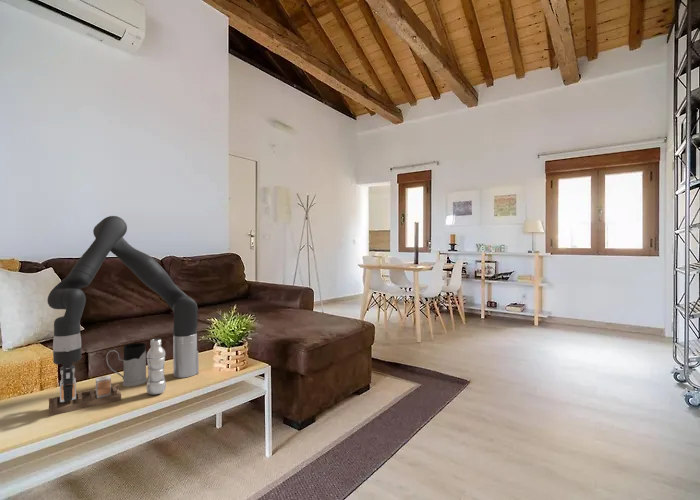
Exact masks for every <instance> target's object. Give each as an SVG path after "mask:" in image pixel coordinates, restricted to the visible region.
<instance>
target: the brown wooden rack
mask: <svg viewBox="0 0 700 500" xmlns="http://www.w3.org/2000/svg"><path fill="white" fill-rule="evenodd" d="M118 401H122V392H121V391H120V384H114V385H112V378H111V374H110V375H109V374H108V375H105V376H104V375H103V376H99V377H95V388H94V389H90V390H89V389H88V390H85V391H81V392H76V399H74V400H69V401H64V402H60V395H59V396H56V397H50V398H48V410H47V411H48V417H51V416H56V415H60V414H64V413H68V412H74V411H78V410H81V409H87V408H90V407H96V406H99V405H105V404H109V403H113V402H118Z"/></svg>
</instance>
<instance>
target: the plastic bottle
mask: <svg viewBox="0 0 700 500" xmlns="http://www.w3.org/2000/svg"><path fill="white" fill-rule="evenodd" d="M149 344H150V345H149V346H150V348H149V349H148V351H146V364H147V369H148V371H147V373H148V375H147V382H146V392H147V394H148V395H151V396H154V395H160V394H162V393H164V392H165V391H166V387H167V383H166V377H165V361H166V350H165V348H163V346H162V338H153V339H150V343H149Z"/></svg>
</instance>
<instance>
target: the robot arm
mask: <svg viewBox="0 0 700 500" xmlns="http://www.w3.org/2000/svg"><path fill="white" fill-rule="evenodd" d="M127 230H128V225H127V223H126V221H125V220H124V219H123V218H121V217H119V216H117V215H110V216H107V217H104V218H102V220H101V221H99V222H98V223H97V224H96V225H95V226H94V228H93V236H94V240H93V242H92V243H91V244H90V245H89V246H88V248H87V249H86V251H85V252H84V253H83V254H82V255H81V256H80V258H79V259H78V261H77V262H76V263H75V264H74V266H73V267H72V269H71V270H70V272H69V273H68V275H67V276H66V277H65V278H63V279H62V280H60V281H59V282H58V283H57V285H55V286H54V287H53V288H52V289H51V290H50V292H49V294H48V296H47V304H48V306H49V307H50V308H51V309H53V310H65V312H64V314H63V316H62V315H61V316H59V317H56V318H55V320H54V322H53V340H52V341H53V343H52V363H53V364H54V365H62V366H61V367H59V369H60V370H59V371H60V373H59V374H60V375H61V376H60V377H61V380H60V381H61V382H62V383H63V390H64V401H69V400H72V389H73V381H74V378H75V372H76V365H75V364H73V363H77V362H80V361H81V359H82V336H81V320H82V319H81V318H82V317H83V312H84V311H85V310H84V309H85V306H86V303H87V297H86V294H85V292H84V291H83V290H82V289H83V288H87V287H88V286H89V285H90V284H91V283H92V281H93V279H94V278H95V276H96V275H97V273H98V272H99V269H100V268H101V266H102V265H103V263H104V261H105V259H106V258H107V256H108V255H109V253H110V252H111V254H114V256H116V257H117V258H118V260H120V261H121V263H123V264H124V265H125V266H126V267H127V268H128V269H129V270H130V271H131V272H132V273H133V274H134V275H135V276H136V277H137V278H138V279H139V281H141V282H142V283H143V285H145V286H146V287H148V288H149V289H150V290H151V291H153V292H154V293H156V294H158V296H160V297H161V298H162V299H163V300H164V302H165V303H166V304H167V305H168V306H169V307H170V309H171V310H172V312H173V328H172V329H173V330H172V336H173V337H172V338H173V340H172V342H173V348H172V349H173V350H172V354H173V363H172V364H173V377H174V378H178V379H179V378H190V377H194V376H195V375H197V374H199V372H200V371H199V362H200V361H199V350H198V334H197V333H198V331H197V330H198V321H199V320H198V318H199V317H198V315H199V314H198V309H199V308H198V304H197V302H196V300H194V299H193V298H192V297H191V296H189V295H187V294H186V293H185V292H184V291H183V290H181V288H179V286H177V285H176V283H175V282H174V281H173V279H172V278H171V277H170V275H169V274H168V273H167V271H166V270H165V268H163V267H162V266H161V265H160V264H159V262H158V261H157V260H155V258H154V257H152V256H150V255H148V254H147V253H145V252H142V251H140V250H138V249H137V248H135V247H133V246H132V245H131V244H130V243H128V241H127V240H125V238H124V236H125V235H126V234H127ZM66 383H71V385H67V386H65V384H66Z"/></svg>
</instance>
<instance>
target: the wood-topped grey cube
mask: <svg viewBox="0 0 700 500" xmlns="http://www.w3.org/2000/svg"><path fill="white" fill-rule="evenodd" d="M76 379H77V378H76V377H74V381H73V389H72V400H74V399H76V393H77V381H76ZM67 385H71V383H66V384H65V386H67ZM59 396H60V402H64V390H63V383H62V382H61V380H59Z"/></svg>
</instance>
